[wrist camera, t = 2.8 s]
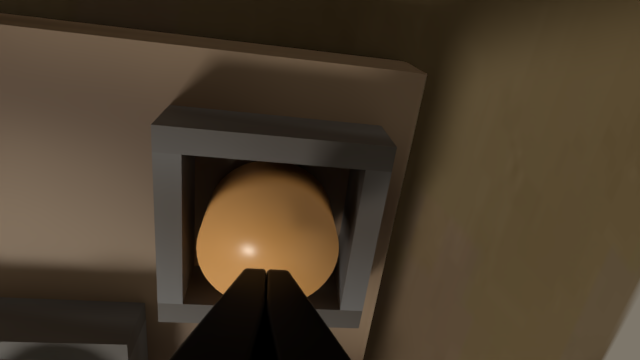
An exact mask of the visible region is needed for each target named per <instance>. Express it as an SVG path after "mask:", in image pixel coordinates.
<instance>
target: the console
mask: <svg viewBox="0 0 640 360" xmlns="http://www.w3.org/2000/svg"><path fill="white" fill-rule="evenodd" d="M426 78H427V74H426V73H425V72H423V71H421V70H419V69H418V68H416V67H414V66H412V65H411V64H409V63H407V62H405V61H398V60H390V59H381V58H373V57H365V56H356V55H348V54H340V53H331V52H323V51H314V50H306V49H298V48H289V47H281V46H273V45H264V44H256V43H248V42H239V41H231V40H223V39H214V38H206V37H198V36H189V35H181V34H173V33H164V32H156V31H147V30H139V29H131V28H122V27H114V26H106V25H97V24H89V23H81V22H72V21H64V20H56V19H47V18H39V17H31V16H22V15H14V14H5V13H0V360H169V358H170V357H171V356H172V355H173V354H174V352H175V351H176V350H177V349H178V348H179V347H180V345H181V344H182V343H183V342H184V341H185V339H186V338H187V337H188V336H189V335H190V333H191V332H192V331H193V330H194V329H195V327H196V326H197V325H198V324H199V323H200V321H201V320H202V319H203V318H204V317H205V315H206V314H207V313H208V312H209V311H210V309H211V308H212V307H213V306H214V305H215V303H216V302H217V301H218V300H219V299H220V297H221V296H222V295H223V294H222V293H220V292H219V291H218V290H216V289H215V288H214V287H213V286H212V285H211V284H210V282H209V281H208V280H207V279H206V277H205V276H204V274H203V272H202V270H201V268H200V265H199V263H198V258H197V251H196V245H197V238H198V234H199V230H200V227H201V224H202V221H203V218H204V215H205V212H206V209H207V206H208V203H209V200H210V197H211V195H212V193H213V191H214V189H215V187H216V186H217V184H218V183H219V182H220V181H221V180H222V179H223V178H224V177H225V176H226V175H227V174H228V173H230V172H231V171H233V170H234V169H236V168H238V167H240V166H242V165H245V164H247V163H251V162H255V161H264V162H276V163H288V164H294V165H296V166H299V167H301V168H303V169H304V170H306V171H307V172H309V173H310V174H311V175H313V176H314V177H315V178H316V179H317V180H318V181H319V182H320V184H321V185H322V186H323V188H324V190H325V192H326V193H327V196H328V199H329V202H330V206H331V210H332V215H333V219H334V223H335V227H336V232H337V236H338V241H339V252H338V258H337V262H336V265H335V267H334V270H333V272H332V273H331V275H330V277H329V278H328V279H327V281H326V282H325V283H324V284H323V285H322V286H321V287H320V288H319V289H318V290H317V291H315V292H314V293H313V294H311V295H309V296H308V297H307V298H308V299H309V301H310V302H311V303H312V305H313V306H314V308H315V309H316V311H317V312H318V313H319V315H320V316H321V318H322V319H323V320H324V322H325V323H326V325H327V326H328V327H329V329H330V330H331V332H332V333H333V335H334V336H335V337H336V339H337V340H338V342H339V343H340V344H341V346H342V347H343V349H344V350H345V352H346V353H347V354H348V356H349V357H350V359H351V360H363V357H364V353H365V349H366V344H367V340H368V335H369V331H370V326H371V322H372V318H373V313H374V309H375V304H376V300H377V295H378V291H379V286H380V282H381V278H382V273H383V269H384V264H385V260H386V255H387V251H388V247H389V242H390V238H391V233H392V229H393V224H394V220H395V216H396V211H397V207H398V202H399V198H400V193H401V189H402V184H403V180H404V176H405V171H406V167H407V162H408V158H409V153H410V149H411V145H412V140H413V136H414V131H415V127H416V122H417V118H418V113H419V109H420V105H421V100H422V96H423V91H424V87H425V82H426Z"/></svg>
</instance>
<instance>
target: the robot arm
mask: <svg viewBox="0 0 640 360" xmlns="http://www.w3.org/2000/svg"><path fill="white" fill-rule="evenodd" d="M169 360H351V359H350V357H349V356H348V354H347V353H346V352H345V350H344V349H343V347H342V346H341V344H340V343H339V342H338V340H337V339H336V337H335V336H334V335H333V333H332V332H331V330H330V329H329V327H328V326H327V325H326V323H325V322H324V320H323V319H322V318H321V316H320V315H319V313H318V312H317V311H316V309H315V308H314V306H313V305H312V303H311V302H310V301H309V299H308V298H307V296H306V295H305V294H304V292H303V291H302V289H301V288H300V286H299V285H298V284H297V282H296V281H295V279H294V278H293V277H292V275H291V274H290V272H289V271H287V270H277V269H269V270H268V271H267V273H266V271H265V270H264V269H256V268H246V269H244V270H243V271H242V272H241V274H240V275H239V276H238V277H237V278H236V280H235V281H234V282H233V283H232V284H231V286H230V287H229V288H228V289H227V290H226V291H225V293H224V294H223V295H222V296H221V297H220V299H219V300H218V301H217V302H216V303H215V305H214V306H213V307H212V308H211V309H210V311H209V312H208V313H207V314H206V315H205V317H204V318H203V319H202V320H201V321H200V323H199V324H198V325H197V326H196V327H195V329H194V330H193V331H192V332H191V333H190V335H189V336H188V337H187V338H186V339H185V341H184V342H183V343H182V344H181V345H180V347H179V348H178V349H177V350H176V351H175V352H174V354H173V355H172V356H171V357H170V358H169Z"/></svg>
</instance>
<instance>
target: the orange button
mask: <svg viewBox="0 0 640 360" xmlns="http://www.w3.org/2000/svg"><path fill="white" fill-rule="evenodd" d="M196 251H197V258H198V263H199V265H200V268H201V270H202V272H203V274H204V276H205V277H206V279H207V280H208V281H209V282H210V284H211V285H212V286H213V287H214V288H215V289H216V290H218V291H219V292H220V293H222V294H224V293H225V291H226V290H227V289H228V288H229V287H230V286H231V284H232V283H233V282H234V281H235V280H236V278H237V277H238V276H239V275H240V274H241V272H242V271H243V270H244V269H246V268H256V269H264V270H265V271H266V273H267V271H268V270H269V269H277V270H287V271H289V272H290V274H291V275H292V277H293V278H294V279H295V281H296V282H297V284H298V285H299V286H300V288H301V289H302V291H303V292H304V294H305V295H306V296H307V297H308V296H309V295H311V294H313V293H314V292H315V291H317V290H318V289H319V288H320V287H321V286H322V285H323V284H324V283H325V282H326V281H327V279H328V278H329V277H330V275H331V273H332V272H333V270H334V267H335V265H336V262H337V258H338V252H339V241H338V236H337V232H336V227H335V223H334V219H333V215H332V210H331V206H330V202H329V199H328V196H327V193H326V192H325V190H324V188H323V186H322V185H321V184H320V182H319V181H318V180H317V179H316V178H315V177H314V176H313V175H311V174H310V173H309V172H307V171H306V170H304V169H303V168H301V167H299V166H296V165H294V164H288V163H276V162H264V161H255V162H251V163H247V164H245V165H242V166H240V167H238V168H236V169H234V170H233V171H231V172H230V173H228V174H227V175H226V176H225V177H224V178H223V179H222V180H221V181H220V182H219V183H218V184H217V186H216V187H215V189H214V191H213V193H212V195H211V197H210V200H209V203H208V206H207V209H206V212H205V215H204V218H203V221H202V224H201V227H200V230H199V234H198V238H197V245H196Z"/></svg>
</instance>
